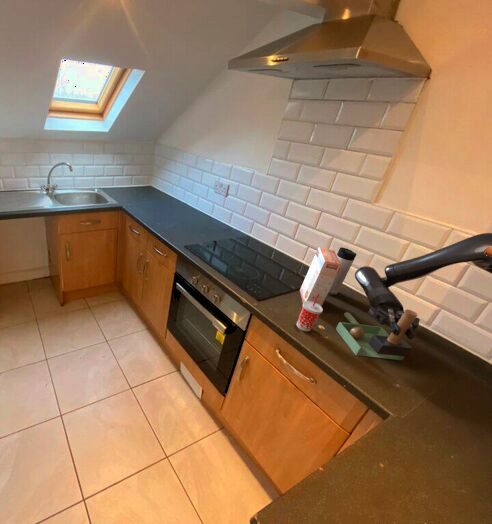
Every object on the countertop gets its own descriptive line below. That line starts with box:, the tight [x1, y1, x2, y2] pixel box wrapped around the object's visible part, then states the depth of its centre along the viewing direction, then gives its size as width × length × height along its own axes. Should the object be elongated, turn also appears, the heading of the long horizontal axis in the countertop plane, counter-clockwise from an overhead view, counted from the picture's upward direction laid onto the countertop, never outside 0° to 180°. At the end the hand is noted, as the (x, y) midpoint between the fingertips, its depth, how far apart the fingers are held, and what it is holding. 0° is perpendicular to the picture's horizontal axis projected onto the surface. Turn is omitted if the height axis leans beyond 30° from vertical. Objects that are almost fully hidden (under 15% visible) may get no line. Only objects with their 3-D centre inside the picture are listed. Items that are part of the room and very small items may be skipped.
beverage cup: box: [296, 294, 324, 332], centre depth 102 cm, size 6×6×14 cm
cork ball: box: [350, 327, 365, 339], centre depth 101 cm, size 4×4×4 cm
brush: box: [368, 309, 418, 358], centre depth 89 cm, size 9×4×14 cm, turn 88°
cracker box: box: [299, 246, 342, 307], centre depth 115 cm, size 14×6×21 cm, turn 160°
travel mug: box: [327, 246, 357, 296], centre depth 124 cm, size 6×7×20 cm
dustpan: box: [335, 312, 405, 361], centre depth 103 cm, size 20×15×3 cm
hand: (404, 334), depth 86 cm, fingers closed on brush, 3 cm apart
